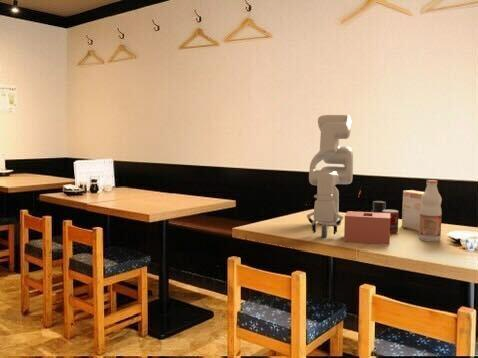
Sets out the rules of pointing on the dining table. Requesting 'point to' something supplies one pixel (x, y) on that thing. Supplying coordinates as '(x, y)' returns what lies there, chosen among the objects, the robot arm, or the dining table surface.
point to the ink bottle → (378, 206)
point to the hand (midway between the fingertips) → (324, 233)
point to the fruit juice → (430, 213)
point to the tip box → (367, 227)
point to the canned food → (393, 220)
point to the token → (324, 231)
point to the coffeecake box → (411, 209)
